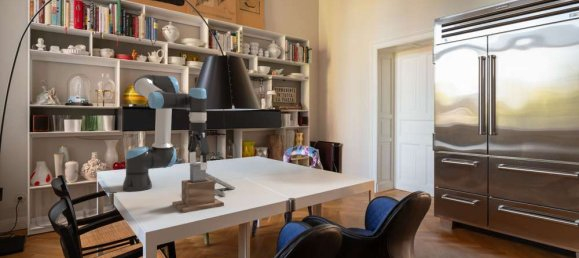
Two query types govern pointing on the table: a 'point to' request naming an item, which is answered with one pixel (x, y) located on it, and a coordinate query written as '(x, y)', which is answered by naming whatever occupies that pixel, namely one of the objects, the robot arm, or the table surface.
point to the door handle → (220, 184)
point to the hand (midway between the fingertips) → (198, 167)
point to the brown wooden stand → (197, 196)
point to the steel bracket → (197, 173)
